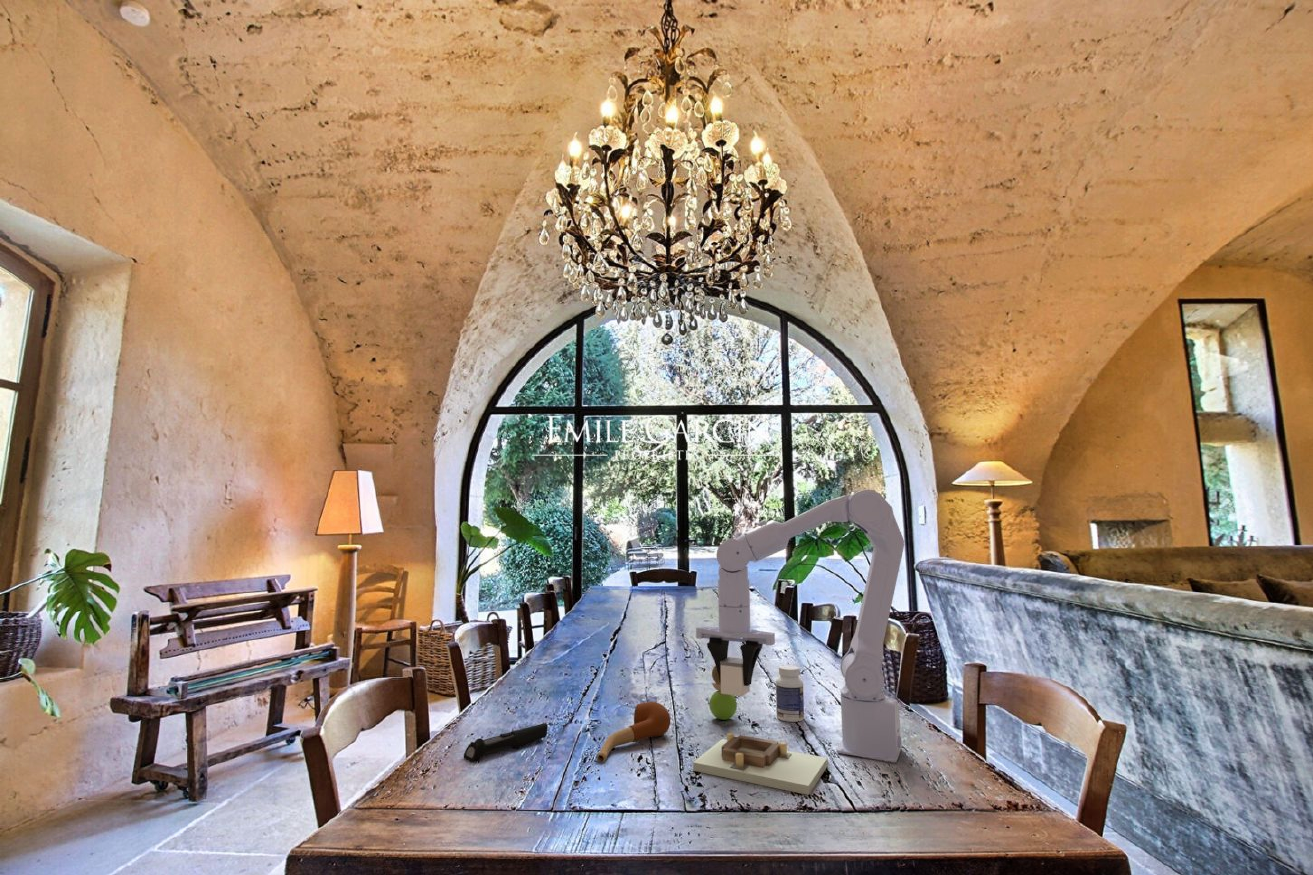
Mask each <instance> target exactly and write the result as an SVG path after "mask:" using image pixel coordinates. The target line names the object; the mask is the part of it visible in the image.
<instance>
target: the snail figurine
mask: <svg viewBox="0 0 1313 875" xmlns="http://www.w3.org/2000/svg"><path fill="white" fill-rule="evenodd" d="M711 676H712V679H713V681H714V682H712V683H711V685H712V687H713V688H714V689H715V690H716V691H715V692H714V693H712V695H711V696H710V698H709V703H708V704H709V706H708V707H709V709H710V710H709V711H710V712H711V714H712V715H713V716H714V717H715V718H717V719H719V720H721V721H725V720H729V719H731V718H732V717H734V715H735V714H736V712H737V708H738V701H737V699H736V697H735V695H728V694H721V683H720V681H719V676H718V672H717V668H716V665H714V667H713V668H712V671H711Z"/></svg>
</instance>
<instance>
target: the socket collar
mask: <svg viewBox="0 0 1313 875" xmlns="http://www.w3.org/2000/svg"><path fill="white" fill-rule="evenodd" d="M741 747H742V748H747V749H753V750H758V751H764V753H763V754H757V753H752V752H746V751H741V750H738V749H740V748H741ZM736 753H742V754H743V761H744V764H747V765H750V766H755V767H760V768H764V767H765V766H770V765H771V764H772V763H773V762H774V761H775V760H776V759H777V757H778V756H779V741H776V740H772V739H771V740H770V739H765V738H759V737H754V736H747V735H742V734H740V735H738V736H734V737H733V738H732V739H730V740H729V741H728V742H727V743H726V744H724V745H723V746H722V760H725V761H730V762H736Z"/></svg>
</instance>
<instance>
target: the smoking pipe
mask: <svg viewBox="0 0 1313 875" xmlns="http://www.w3.org/2000/svg"><path fill="white" fill-rule="evenodd" d="M670 725H671V716H670V713H669V711H668V709H667V707H665V706H664V705H663V704H662V703H660V702H657V701H645V702H642V703H637V704H636V705H635V708H634V713H633V724H632V725H631V724H630V725H629V726H628V727H625V728H623V729H620V730H618V731H616V732H614V733H611V734H610V735H609V736H608V737H607V739H606V740H605V741H604V743H603V745H602V746H601V749H600V751H599V752H598V753H597V755H596V760H597V762H599V763H604V762H606V761H607V759H608V756H609V754H610V752H611V750H612V749H614V748H615V747H618V746H622V745H625V744H630V743H637V742H638V741H639V742H640V741H642V740H646V739H648V738H651V737H653V738H654V737H658V738H659V737H663V735H665V734H666V733H667V732H668V731H669V729H670V727H671V726H670Z"/></svg>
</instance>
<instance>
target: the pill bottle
mask: <svg viewBox="0 0 1313 875" xmlns="http://www.w3.org/2000/svg"><path fill="white" fill-rule="evenodd" d="M778 674H779V676H778V677H777V678H776V679H775V699H776V700H775V702H776V703H775V705H776V708H775V709H776V713H775V714H776V717H777V719H779V720H780V721H783V722H790V723H797V722H798V721H799V722H801V721H803V720H805V719H804V718H805V709H804V708H805V702H804V682H803V680H802V678H800V677H799V676H800V667H799V666H795V665H789V664H785V665H779V666H778Z"/></svg>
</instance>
